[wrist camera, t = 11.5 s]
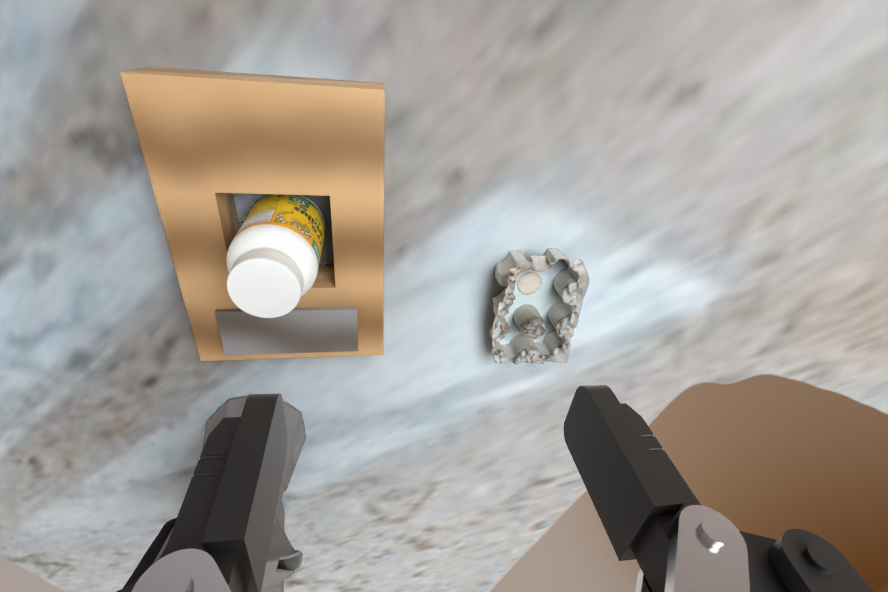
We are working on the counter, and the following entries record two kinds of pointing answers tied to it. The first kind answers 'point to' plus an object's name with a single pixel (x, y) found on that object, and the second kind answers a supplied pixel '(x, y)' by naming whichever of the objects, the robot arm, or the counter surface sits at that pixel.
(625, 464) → the robot arm
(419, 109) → the counter surface
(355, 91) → the jig
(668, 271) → the counter surface
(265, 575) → the coffeepot
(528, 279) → the egg carton
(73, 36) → the counter surface
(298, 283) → the supplement bottle
